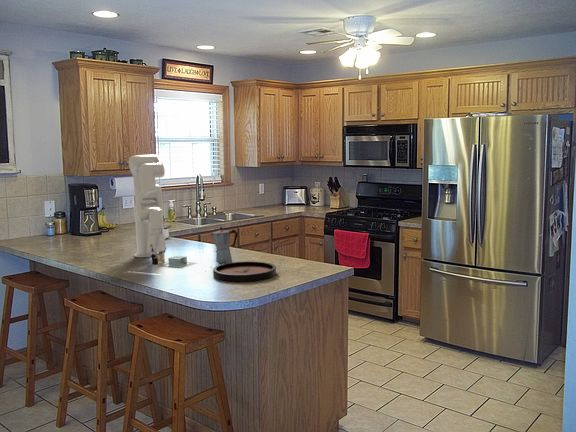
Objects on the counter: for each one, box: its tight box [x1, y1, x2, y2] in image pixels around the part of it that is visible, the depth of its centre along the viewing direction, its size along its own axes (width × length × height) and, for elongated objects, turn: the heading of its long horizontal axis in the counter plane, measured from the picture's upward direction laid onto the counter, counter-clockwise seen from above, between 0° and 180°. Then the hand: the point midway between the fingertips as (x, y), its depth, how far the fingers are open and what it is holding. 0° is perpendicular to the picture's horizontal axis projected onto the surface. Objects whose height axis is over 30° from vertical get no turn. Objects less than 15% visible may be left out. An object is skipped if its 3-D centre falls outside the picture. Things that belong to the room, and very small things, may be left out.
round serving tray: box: [212, 260, 277, 284], centre depth 280 cm, size 31×4×31 cm
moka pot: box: [209, 226, 239, 265], centre depth 309 cm, size 10×15×20 cm, turn 111°
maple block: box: [150, 252, 166, 265], centre depth 307 cm, size 5×5×6 cm
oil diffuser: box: [163, 219, 172, 240], centre depth 398 cm, size 26×24×17 cm
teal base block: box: [168, 255, 188, 266], centre depth 302 cm, size 7×7×4 cm
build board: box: [157, 261, 198, 269], centre depth 302 cm, size 15×16×1 cm
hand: (158, 263), depth 308 cm, fingers closed on maple block, 5 cm apart
